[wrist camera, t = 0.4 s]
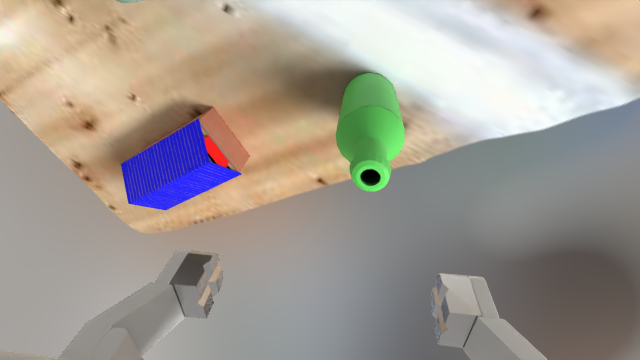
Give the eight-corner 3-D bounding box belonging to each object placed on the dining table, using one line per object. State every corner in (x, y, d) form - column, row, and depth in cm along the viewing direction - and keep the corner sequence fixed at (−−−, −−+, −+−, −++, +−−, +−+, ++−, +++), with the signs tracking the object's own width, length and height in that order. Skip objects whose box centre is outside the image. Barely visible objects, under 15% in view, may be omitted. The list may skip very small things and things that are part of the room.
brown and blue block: (141, 147, 67) (102, 178, 57) (214, 104, 60) (184, 131, 50) (181, 191, 72) (152, 226, 62) (252, 156, 65) (232, 189, 55)
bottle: (332, 97, 56) (312, 174, 35) (370, 59, 52) (373, 122, 31) (367, 131, 59) (368, 222, 38) (406, 98, 54) (431, 180, 34)
